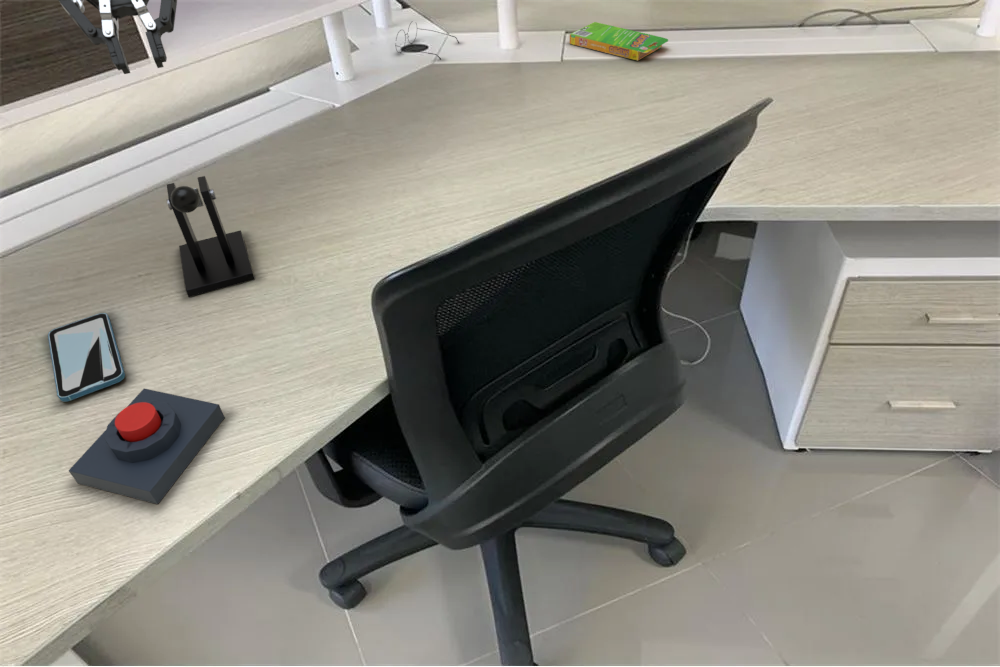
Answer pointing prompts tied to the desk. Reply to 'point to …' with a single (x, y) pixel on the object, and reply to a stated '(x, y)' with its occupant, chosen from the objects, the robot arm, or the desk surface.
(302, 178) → the desk surface
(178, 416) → the button block
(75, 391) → the smartphone
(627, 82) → the desk surface
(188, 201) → the switch lever
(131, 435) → the button
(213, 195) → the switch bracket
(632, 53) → the game box
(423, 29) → the eyeglasses
